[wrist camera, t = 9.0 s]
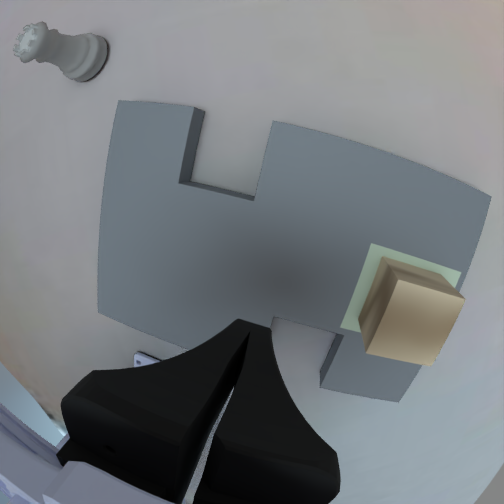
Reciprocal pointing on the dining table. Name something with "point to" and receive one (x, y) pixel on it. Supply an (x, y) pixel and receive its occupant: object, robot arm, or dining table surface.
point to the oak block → (408, 313)
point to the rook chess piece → (62, 50)
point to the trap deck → (272, 237)
